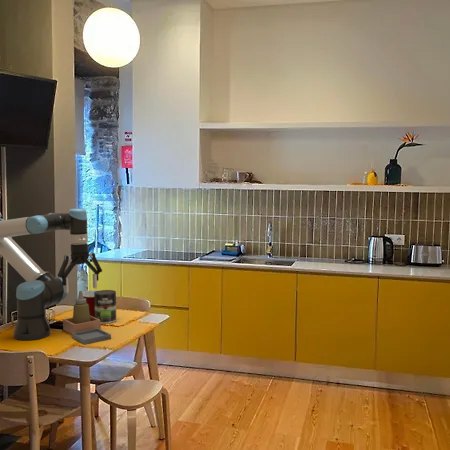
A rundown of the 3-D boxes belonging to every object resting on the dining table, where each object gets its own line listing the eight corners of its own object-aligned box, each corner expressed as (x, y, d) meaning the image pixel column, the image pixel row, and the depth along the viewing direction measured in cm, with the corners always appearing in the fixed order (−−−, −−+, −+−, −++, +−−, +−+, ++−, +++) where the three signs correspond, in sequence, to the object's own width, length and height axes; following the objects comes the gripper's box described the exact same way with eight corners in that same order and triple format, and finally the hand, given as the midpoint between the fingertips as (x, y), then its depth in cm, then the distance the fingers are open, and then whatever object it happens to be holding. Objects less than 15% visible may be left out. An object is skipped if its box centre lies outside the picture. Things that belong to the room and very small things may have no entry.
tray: (84, 344, 231) (84, 339, 231) (72, 337, 241) (72, 333, 240) (111, 338, 239) (110, 334, 239) (98, 332, 248) (98, 328, 248)
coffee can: (117, 322, 264) (116, 293, 263) (94, 324, 262) (93, 294, 261) (116, 317, 274) (115, 289, 273) (95, 318, 272) (94, 290, 271)
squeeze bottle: (71, 329, 254) (70, 290, 252) (89, 327, 257) (88, 288, 255) (73, 333, 247) (72, 293, 245) (92, 331, 250) (91, 292, 248)
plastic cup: (81, 319, 270) (81, 295, 269) (81, 314, 280) (80, 290, 279) (104, 318, 273) (104, 294, 272) (103, 312, 283) (102, 289, 282)
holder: (74, 336, 243) (74, 324, 243) (63, 330, 253) (62, 319, 252) (100, 330, 251) (100, 320, 250) (88, 325, 261) (88, 314, 260)
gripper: (55, 246, 237) (57, 295, 239) (108, 241, 253) (110, 287, 255) (48, 245, 243) (50, 292, 245) (101, 240, 259) (102, 285, 261)
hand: (81, 290), depth 250 cm, fingers open, 13 cm apart
